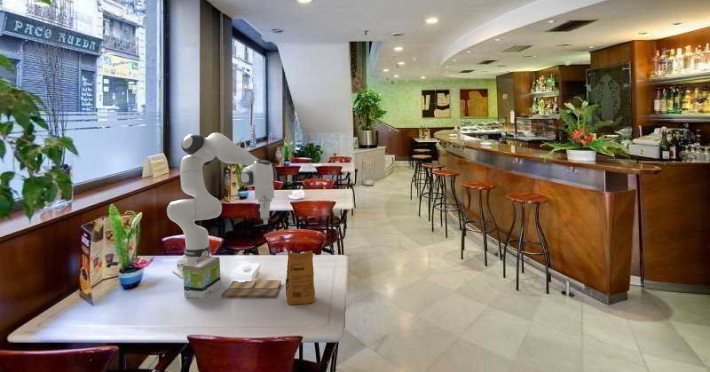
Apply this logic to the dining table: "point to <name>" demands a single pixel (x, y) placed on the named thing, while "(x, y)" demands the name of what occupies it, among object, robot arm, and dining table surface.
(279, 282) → the plank
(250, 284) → the plank
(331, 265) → the dining table surface
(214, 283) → the tea box
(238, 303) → the dining table surface
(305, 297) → the coffee package
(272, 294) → the floor strip
